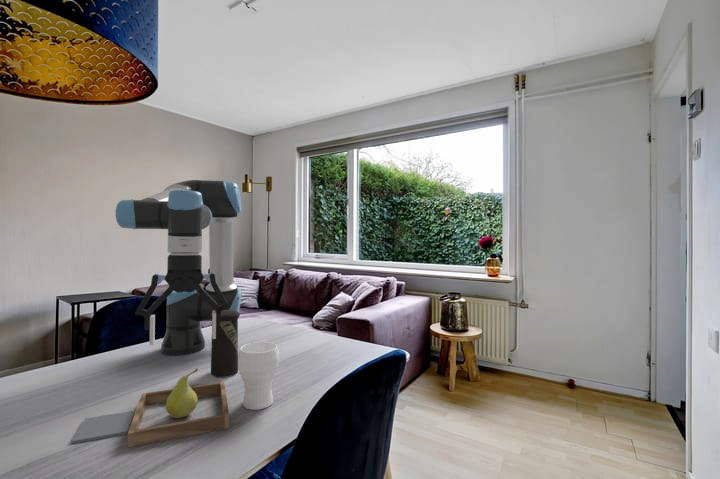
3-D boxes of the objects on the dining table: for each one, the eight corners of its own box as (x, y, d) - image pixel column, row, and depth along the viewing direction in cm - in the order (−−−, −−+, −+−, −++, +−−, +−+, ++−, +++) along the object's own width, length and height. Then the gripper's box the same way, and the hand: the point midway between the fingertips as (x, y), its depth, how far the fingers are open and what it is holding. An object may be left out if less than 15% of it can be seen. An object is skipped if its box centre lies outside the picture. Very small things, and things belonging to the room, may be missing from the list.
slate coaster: (85, 420, 85) (85, 418, 85) (134, 412, 89) (134, 410, 89) (71, 443, 76) (71, 441, 76) (127, 433, 80) (127, 431, 80)
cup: (247, 417, 88) (248, 356, 87) (230, 401, 96) (231, 345, 95) (285, 404, 95) (286, 348, 94) (267, 390, 103) (268, 338, 102)
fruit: (175, 408, 91) (175, 362, 91) (204, 409, 91) (204, 363, 91) (160, 422, 85) (160, 372, 84) (191, 423, 84) (191, 373, 84)
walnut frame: (141, 404, 93) (142, 393, 93) (223, 392, 101) (224, 381, 101) (127, 447, 75) (127, 433, 75) (229, 428, 83) (229, 415, 83)
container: (229, 379, 110) (230, 314, 110) (203, 376, 112) (204, 312, 112) (244, 368, 119) (244, 309, 118) (219, 366, 120) (220, 307, 120)
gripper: (121, 255, 79) (120, 350, 79) (240, 254, 89) (238, 339, 89) (127, 253, 85) (126, 341, 86) (237, 252, 96) (236, 331, 96)
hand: (184, 340), depth 88 cm, fingers open, 13 cm apart
